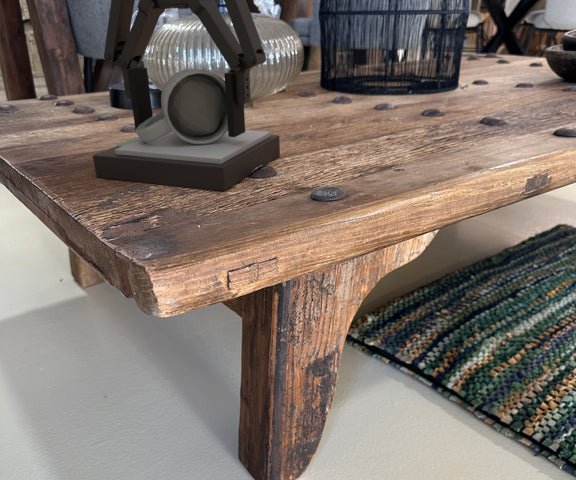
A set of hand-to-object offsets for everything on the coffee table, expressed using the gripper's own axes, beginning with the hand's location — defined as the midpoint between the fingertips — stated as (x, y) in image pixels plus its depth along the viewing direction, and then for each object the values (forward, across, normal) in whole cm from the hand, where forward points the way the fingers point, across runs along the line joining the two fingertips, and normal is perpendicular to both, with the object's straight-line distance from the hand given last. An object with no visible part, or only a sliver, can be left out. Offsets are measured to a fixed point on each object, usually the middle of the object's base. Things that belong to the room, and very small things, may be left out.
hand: (189, 131), depth 65 cm
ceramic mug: (+1, 0, 0) cm, 1 cm away
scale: (+4, 0, 0) cm, 4 cm away
